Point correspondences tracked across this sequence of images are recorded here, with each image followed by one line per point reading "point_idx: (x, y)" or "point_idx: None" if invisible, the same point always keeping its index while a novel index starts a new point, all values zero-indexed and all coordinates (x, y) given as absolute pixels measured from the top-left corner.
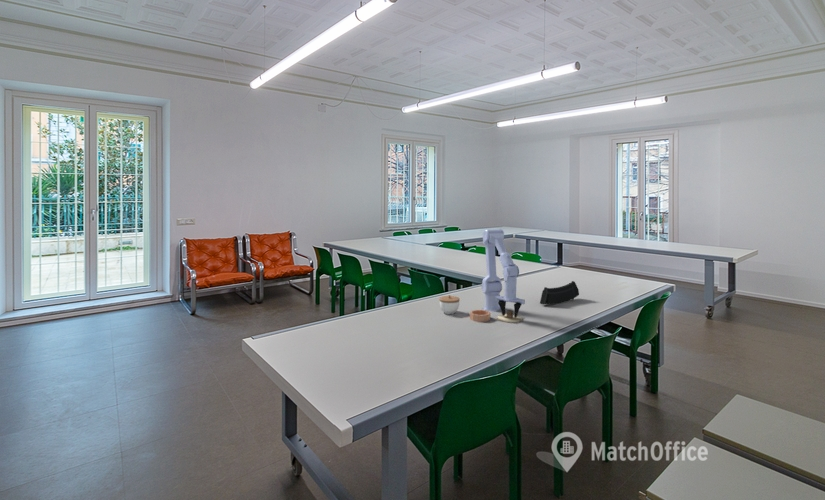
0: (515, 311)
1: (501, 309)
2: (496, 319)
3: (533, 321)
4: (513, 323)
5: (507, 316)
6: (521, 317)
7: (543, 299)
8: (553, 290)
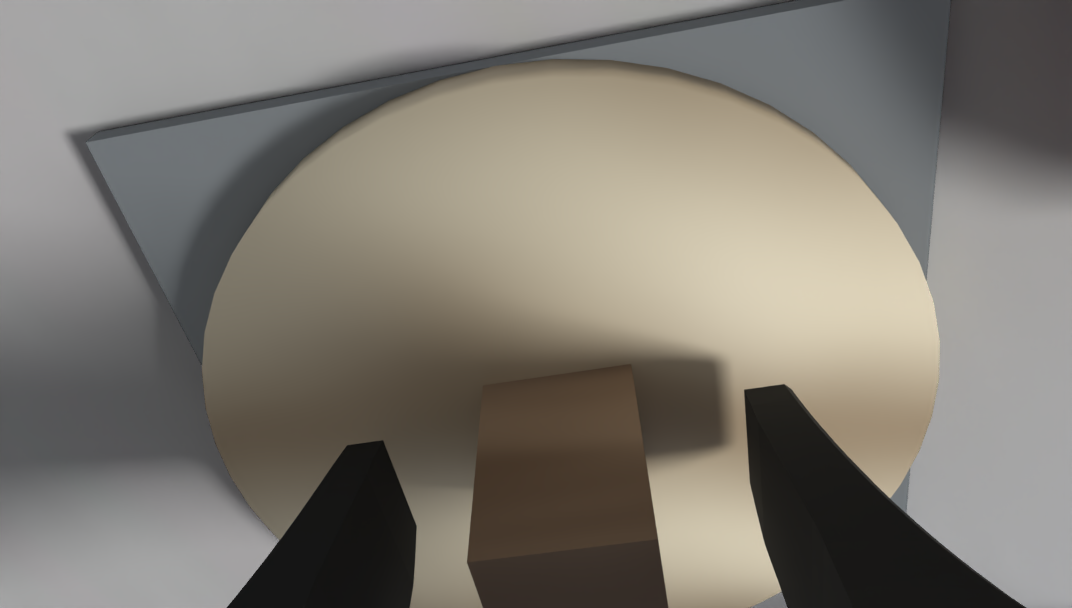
0: (268, 596)
1: (889, 519)
2: (890, 119)
3: (93, 580)
4: (209, 118)
5: (604, 398)
6: None
7: None
8: None
